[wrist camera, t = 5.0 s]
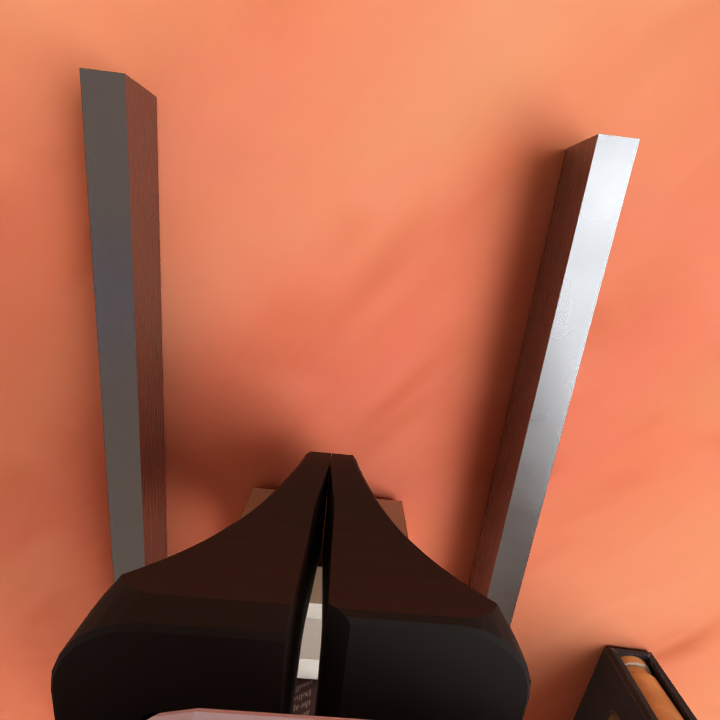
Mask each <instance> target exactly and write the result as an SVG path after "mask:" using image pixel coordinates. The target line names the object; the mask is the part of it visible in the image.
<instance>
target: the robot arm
mask: <svg viewBox="0 0 720 720" xmlns="http://www.w3.org/2000/svg"><path fill="white" fill-rule="evenodd" d="M330 461H331V463H330ZM329 471H330V473H329ZM328 482H329V483H328ZM327 492H328V493H327ZM326 502H327V504H326ZM325 512H326V514H325ZM324 522H325V524H324ZM323 531H324V534H323ZM322 540H323V545H322ZM321 547H322V633H321V648H320V659H319V670H318V681H317V691H316V702H315V713H314V716H308V715H293V714H292V713H293V705H294V698H295V690H296V682H297V674H298V667H299V659H300V651H301V644H302V637H303V631H304V626H305V620H306V616H307V611H308V607H309V602H310V598H311V593H312V589H313V584H314V580H315V575H316V570H317V566H318V561H319V557H320V552H321ZM530 685H531V680H530V676H529V672H528V668H527V664H526V662H525V659H524V657H523V655H522V652H521V650H520V647H519V645H518V642H517V640H516V638H515V636H514V634H513V632H512V630H511V628H510V626H509V624H508V623H507V621H506V619H505V617H504V615H503V614H502V612H501V610H500V608H499V606H498V604H497V603H495V602H494V601H492V600H490V599H489V598H487V597H485V596H484V595H482V594H481V593H479V592H477V591H476V590H474V589H472V588H471V587H469V586H467V585H466V584H464V583H462V582H461V581H459V580H458V579H457V578H455V577H454V576H452V575H451V574H450V573H448V572H447V571H446V570H444V569H443V568H441V567H440V566H439V565H437V564H436V563H435V562H434V561H432V560H431V559H430V558H429V557H428V556H426V555H425V554H424V553H423V552H422V551H421V550H420V549H419V548H418V547H416V546H415V545H414V544H413V543H412V542H411V541H410V540H409V539H408V538H407V537H406V536H405V535H404V534H403V533H402V532H401V531H400V530H399V528H398V527H397V526H396V525H395V524H394V523H393V521H392V520H391V519H390V518H389V516H388V515H387V514H386V512H385V511H384V509H383V508H382V507H381V505H380V504H379V502H378V501H377V499H376V498H375V496H374V494H373V493H372V491H371V489H370V488H369V486H368V484H367V483H366V481H365V479H364V477H363V475H362V473H361V471H360V469H359V466H358V464H357V461H356V459H355V458H354V456H353V455H343V454H332V455H331V453H321V452H309V453H308V454H306V456H305V457H304V459H303V460H302V461H301V463H300V464H299V465H298V466H297V468H296V469H295V470H294V471H293V472H292V473H291V475H290V476H289V477H288V478H287V479H286V480H285V481H284V482H283V483H282V484H281V485H280V486H279V487H278V488H277V489H276V490H275V491H274V492H273V493H272V494H271V495H270V496H269V497H267V498H266V499H265V500H264V501H263V502H262V503H261V504H260V505H258V506H257V507H256V508H255V509H253V510H252V511H251V512H250V513H248V514H247V515H246V516H244V517H243V518H241V519H240V520H239V521H237V522H236V523H234V524H232V525H231V526H229V527H227V528H226V529H224V530H222V531H221V532H219V533H217V534H216V535H214V536H212V537H210V538H209V539H207V540H205V541H203V542H201V543H199V544H197V545H195V546H193V547H191V548H188V549H186V550H184V551H182V552H180V553H177V554H175V555H173V556H170V557H168V558H166V559H163V560H160V561H157V562H155V563H152V564H149V565H147V566H144V567H141V568H139V569H136V570H133V571H130V572H127V573H124V574H122V575H121V576H120V577H119V578H118V579H117V581H116V582H115V583H114V584H113V585H112V586H111V587H110V589H109V590H108V591H107V592H106V593H105V594H104V595H103V596H102V598H101V599H100V600H99V601H98V603H97V604H96V605H95V606H94V608H93V609H92V610H91V612H90V613H89V614H88V616H87V617H86V618H85V620H84V621H83V623H82V624H81V625H80V627H79V628H78V629H77V631H76V632H75V634H74V635H73V636H72V638H71V639H70V640H69V642H68V643H67V645H66V646H65V647H64V649H63V650H62V651H61V653H60V654H59V656H58V659H57V661H56V663H55V665H54V667H53V670H52V678H51V693H52V701H53V708H54V716H55V720H523V716H524V713H525V710H526V706H527V703H528V700H529V693H530Z"/></svg>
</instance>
